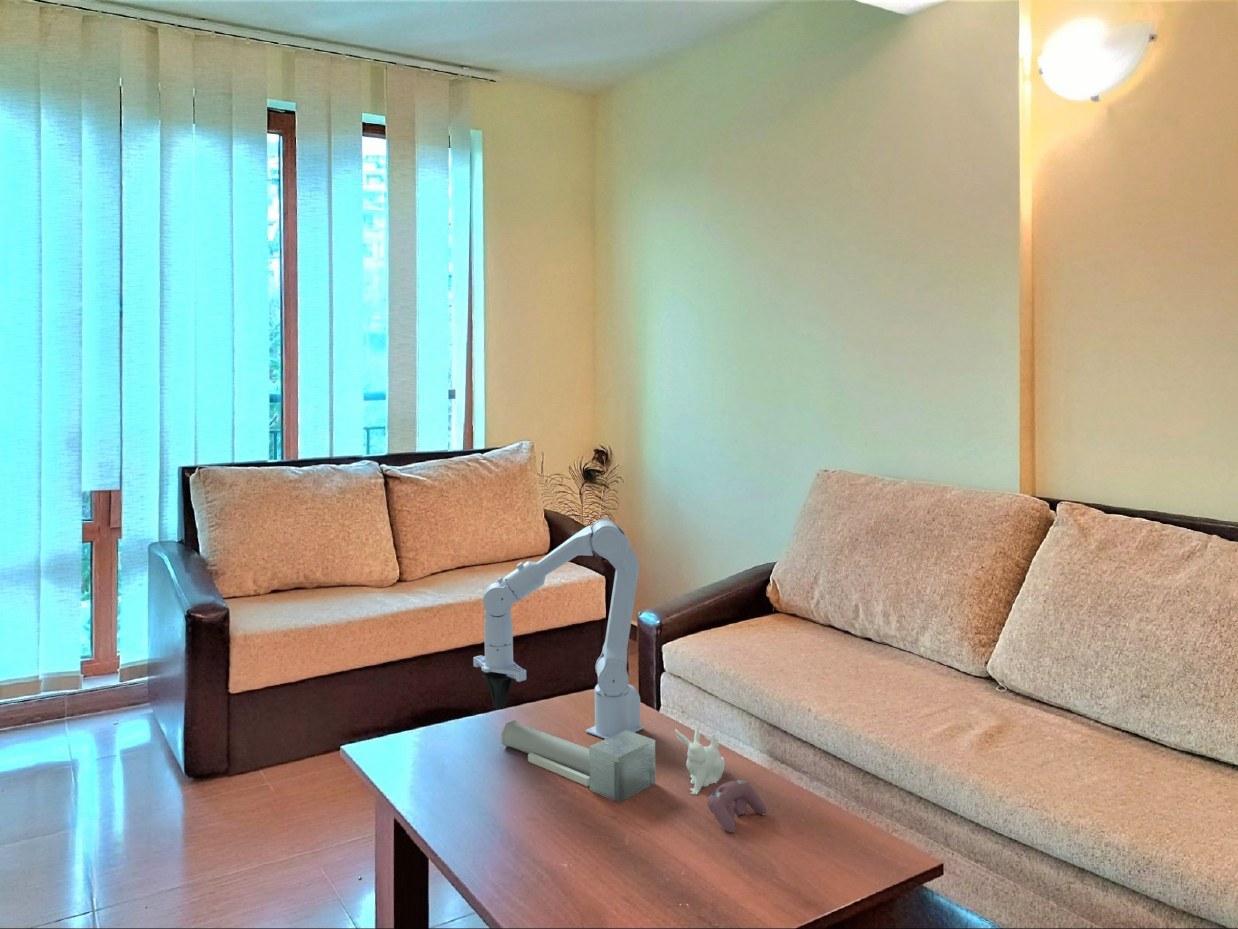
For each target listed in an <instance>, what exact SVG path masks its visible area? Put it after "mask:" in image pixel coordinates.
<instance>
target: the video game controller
mask: <svg viewBox="0 0 1238 929" xmlns="http://www.w3.org/2000/svg"><path fill="white" fill-rule="evenodd" d="M730 804H732V806H730ZM747 805H748V806H749V807H750V808H751V809H752V810H753V811H754V812H755V813H758V814H759V815H761V814H764V815H766V813H767V807H766V805H765V802H764V801H763V800H762V798H761V797H760V796H759V795H758V794H757V792H756V791H755V790H754V788H753V787H752V785H751V784H750V783H747V781H746V780H740V779H738V780H730V781H727V782H724V783H723V784H721V785H719V787H717V788H716V789H715V791H713V792H712V793H711V794H710V795H709V796H708V799H707V806H708V809H709V811H710V812H711V814H713V815H714V817H715V819H716V821H717V822H718V824H720V826H721V828H723V829H724V831H726V832H727V833H730V832H733V833H735V832H736V823H735V820H734V819H735V815H736V814H737V816H741V814H742V815H744V814H746V811H747ZM733 833H732V834H733Z"/></svg>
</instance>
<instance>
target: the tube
mask: <svg viewBox="0 0 1238 929" xmlns="http://www.w3.org/2000/svg"><path fill="white" fill-rule="evenodd" d="M501 744H502V745H503V746H505V747H507V748H511V749H512V748H513V749H515V750H518V751H520V752H523V753H526V754H527V755H528V754H530V753H534V754H536V755H539V756H541V757H544V758H546V759H549V760H551V761H553V762H556V763H558V764H561V765H563V766H565V767H568V768H570V769H573V770H575V771H577V772H580V773H582V774H585V775H587V776H589V777H590V758H589V748H588V747H586V746H582V745H580V744H576V743H574V742H571V741H568V740H566V739H563V738H562V737H561V738H560V737H558V736H554V735H552V734H549V733H547V732H544V731H540V730H538V729H535V728H533V727H531V726H527V725H524V724H522V723H520V722H518V721H516V720H511V721H509V722H507V723H505V724H504V727H503V729H502V732H501Z"/></svg>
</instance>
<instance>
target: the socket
mask: <svg viewBox="0 0 1238 929" xmlns="http://www.w3.org/2000/svg"><path fill="white" fill-rule="evenodd" d="M588 747H589V748H588V749H589V758H590V785H589V791H590V792H593V793H595V794H597V795H600V796H601V797H604V798H607V799H608V800H612V801H614V802H616V803H618V804H619V803H621V802H623V801H625V800H627V799H628V798H630V797H633V796H634V795H637V794H638V793H640V792H642V791H644V790H645V789H648V788H650V787H652V786H654V785H655V784H656V740H655V739H653V738H650V737H648V736H645V735H642V734H639V733H637V732H635V733H634V732H631V731H628V730H625V731H623V732H621V733H618V734H616V735H614V736H612V737H609V738H607V739H603V740H600V741H598V742H596V743H594V744H591V745H589V746H588Z"/></svg>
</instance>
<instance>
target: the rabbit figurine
mask: <svg viewBox="0 0 1238 929" xmlns="http://www.w3.org/2000/svg"><path fill="white" fill-rule="evenodd" d="M675 736H676V738H677V739H678V741H679V742H681V743H682V744H685V745H686V746H687V752H686V756H687V759H686V764H685V766H686V770H687V771H688V772H689V774H690V775H689V778H690V777H691V778H692V779H690V784H691V785H694V786H693V788H690V789H689V791H690V795H693V794H694V795H695V796H697V794H699V792H700V791H701V789H702V788H703V787H708V786H709V785H710V784H713V783H715V784H717V783H718V782H719V781H720V779H721V778H722V776H723V774H724V768H725V764H726V763H725V760H724V757H723V756H721V753H720V750H719V749H718V747H719V745H720V744H719V741H718V740H719V739H718V738H716V735H715V734H712V736H711V737H710V736H709V735H707V734H705V735H704V740H708V741H710V743H709V745H708V746H703V744H701V743H700V738H701V732H700V731H699V726H698V725H697V724H695V728H694V735H693V742H691V741H690V740H689V738H688V737H686V736H685V735H684V734H682V733H681V732H680V731H679V730H678V729H676V728H675ZM719 778H720V779H719ZM717 781H718V782H717ZM713 785H714V784H713Z"/></svg>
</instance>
